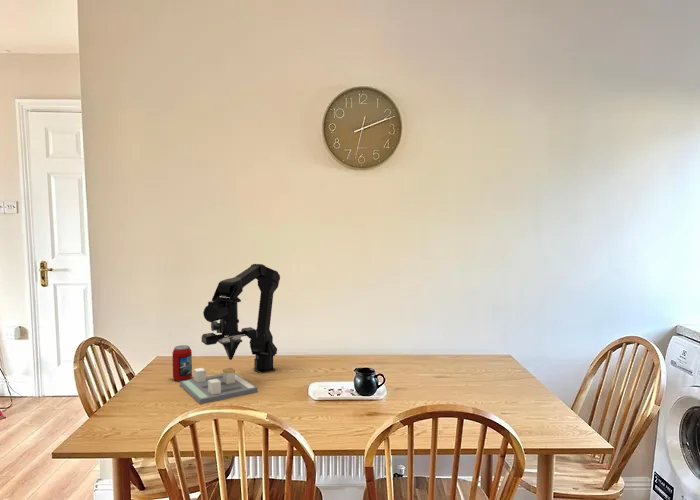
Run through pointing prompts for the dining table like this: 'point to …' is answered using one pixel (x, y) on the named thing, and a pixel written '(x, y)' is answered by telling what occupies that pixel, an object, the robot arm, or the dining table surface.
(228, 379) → the block
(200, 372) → the block
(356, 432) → the dining table surface
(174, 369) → the beverage can
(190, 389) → the panel
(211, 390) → the block
